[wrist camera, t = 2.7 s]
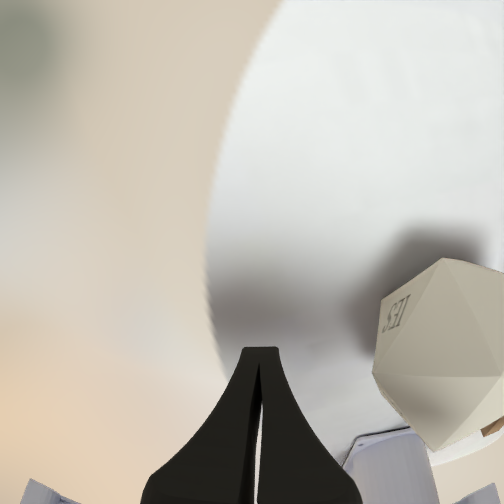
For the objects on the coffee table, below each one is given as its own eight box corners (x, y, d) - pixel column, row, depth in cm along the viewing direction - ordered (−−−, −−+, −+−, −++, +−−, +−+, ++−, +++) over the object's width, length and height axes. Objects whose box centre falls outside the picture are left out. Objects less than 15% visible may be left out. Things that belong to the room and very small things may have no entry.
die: (378, 204, 13) (319, 431, 8) (551, 211, 8) (555, 454, 3) (394, 291, 18) (355, 438, 14) (513, 299, 13) (493, 455, 9)
